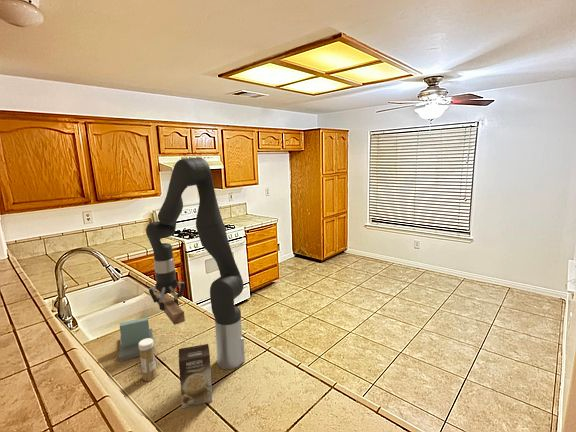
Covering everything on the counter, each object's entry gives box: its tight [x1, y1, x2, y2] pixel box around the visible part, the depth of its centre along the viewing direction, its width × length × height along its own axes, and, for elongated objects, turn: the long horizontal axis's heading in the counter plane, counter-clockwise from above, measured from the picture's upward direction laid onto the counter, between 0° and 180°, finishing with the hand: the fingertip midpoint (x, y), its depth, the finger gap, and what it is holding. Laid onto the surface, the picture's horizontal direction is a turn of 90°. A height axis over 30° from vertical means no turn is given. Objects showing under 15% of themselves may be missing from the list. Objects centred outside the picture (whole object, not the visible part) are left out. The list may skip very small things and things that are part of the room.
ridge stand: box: [117, 316, 155, 362], centre depth 119 cm, size 12×16×10 cm
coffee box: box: [178, 343, 213, 409], centre depth 92 cm, size 9×6×16 cm
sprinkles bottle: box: [138, 338, 157, 382], centre depth 101 cm, size 5×5×14 cm
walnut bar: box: [155, 291, 186, 326], centre depth 123 cm, size 4×26×4 cm, turn 38°
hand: (169, 308), depth 123 cm, fingers closed on walnut bar, 4 cm apart
